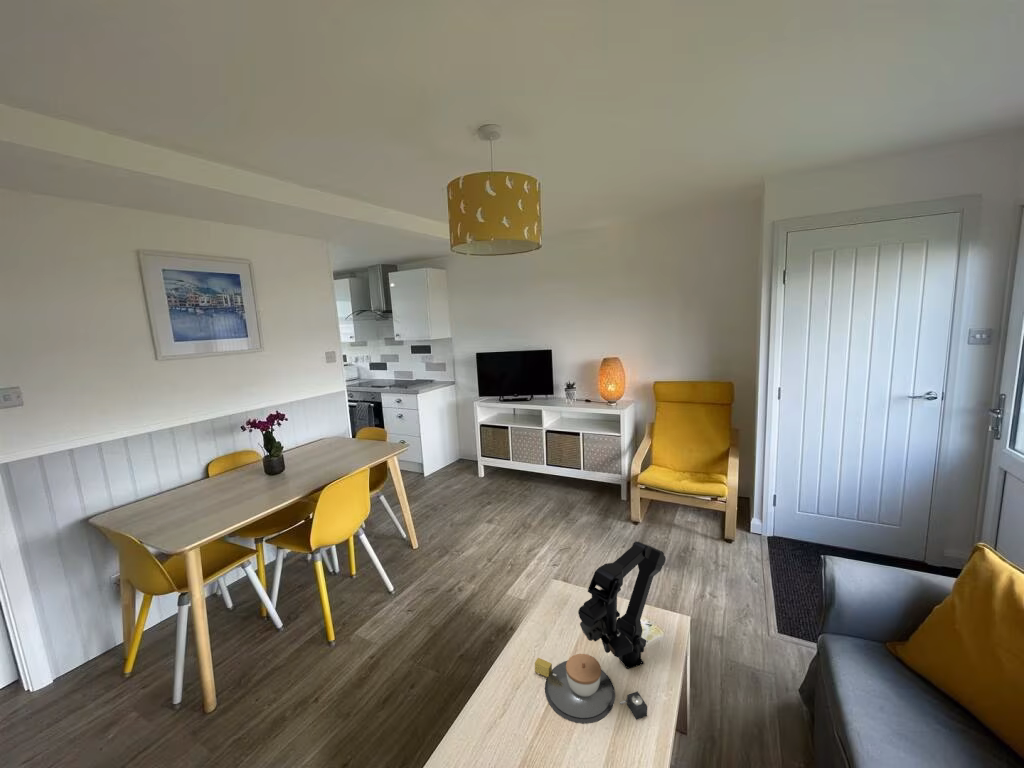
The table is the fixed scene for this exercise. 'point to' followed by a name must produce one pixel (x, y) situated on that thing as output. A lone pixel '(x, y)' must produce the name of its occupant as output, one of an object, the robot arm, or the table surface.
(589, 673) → the lidded jar
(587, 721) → the turntable base
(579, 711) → the turntable
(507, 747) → the table surface
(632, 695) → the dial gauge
